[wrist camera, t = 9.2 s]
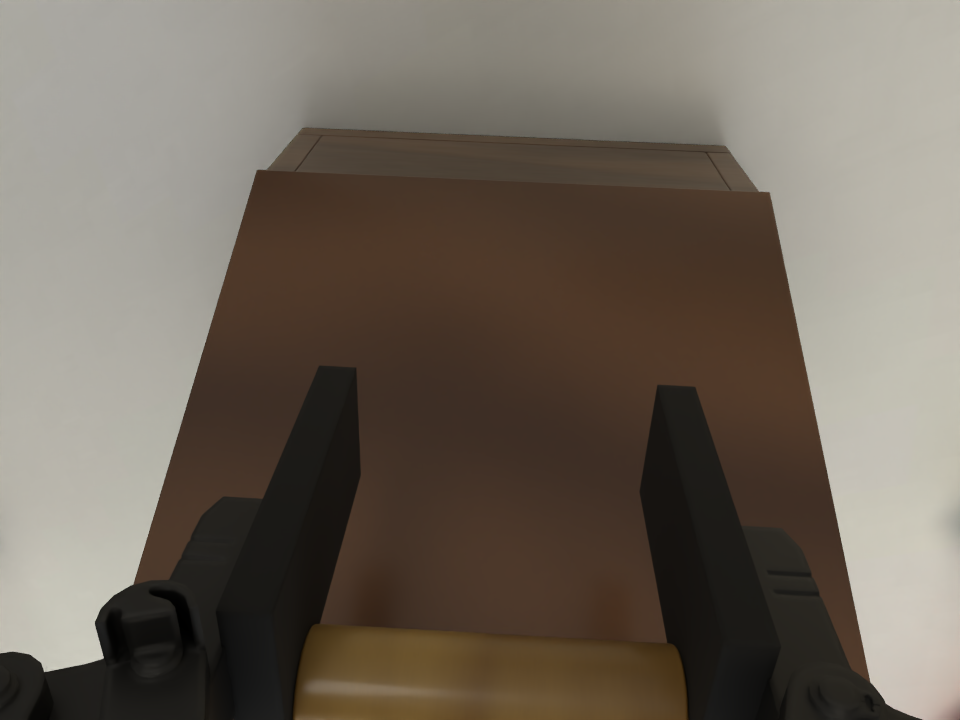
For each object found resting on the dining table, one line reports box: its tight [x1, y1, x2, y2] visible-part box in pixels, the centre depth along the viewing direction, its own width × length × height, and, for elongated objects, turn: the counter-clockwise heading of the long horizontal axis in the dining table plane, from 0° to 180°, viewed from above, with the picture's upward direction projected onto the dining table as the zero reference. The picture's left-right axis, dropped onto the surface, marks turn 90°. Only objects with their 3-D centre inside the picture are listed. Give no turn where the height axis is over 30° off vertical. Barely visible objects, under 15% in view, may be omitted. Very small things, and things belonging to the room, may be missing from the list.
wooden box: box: [267, 128, 759, 192], centre depth 36 cm, size 19×17×6 cm
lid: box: [133, 170, 870, 720], centre depth 20 cm, size 20×17×7 cm
